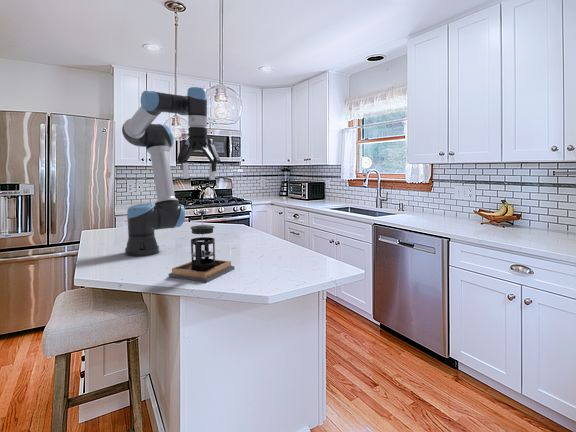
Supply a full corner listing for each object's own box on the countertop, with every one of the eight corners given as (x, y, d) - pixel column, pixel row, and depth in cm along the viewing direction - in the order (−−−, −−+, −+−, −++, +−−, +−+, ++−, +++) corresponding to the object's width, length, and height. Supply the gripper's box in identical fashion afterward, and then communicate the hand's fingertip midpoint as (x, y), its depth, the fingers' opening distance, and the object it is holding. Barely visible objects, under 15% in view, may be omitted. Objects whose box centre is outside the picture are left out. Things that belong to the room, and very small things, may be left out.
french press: (196, 265, 145) (194, 209, 142) (219, 266, 144) (217, 209, 141) (185, 273, 133) (183, 212, 130) (210, 274, 132) (208, 213, 130)
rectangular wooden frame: (168, 277, 133) (168, 268, 133) (199, 264, 151) (199, 257, 150) (206, 282, 127) (206, 273, 127) (234, 269, 144) (234, 261, 144)
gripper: (167, 126, 148) (169, 178, 151) (217, 125, 138) (218, 180, 141) (179, 128, 155) (180, 177, 158) (228, 127, 145) (228, 179, 148)
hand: (198, 179), depth 150 cm, fingers open, 13 cm apart
